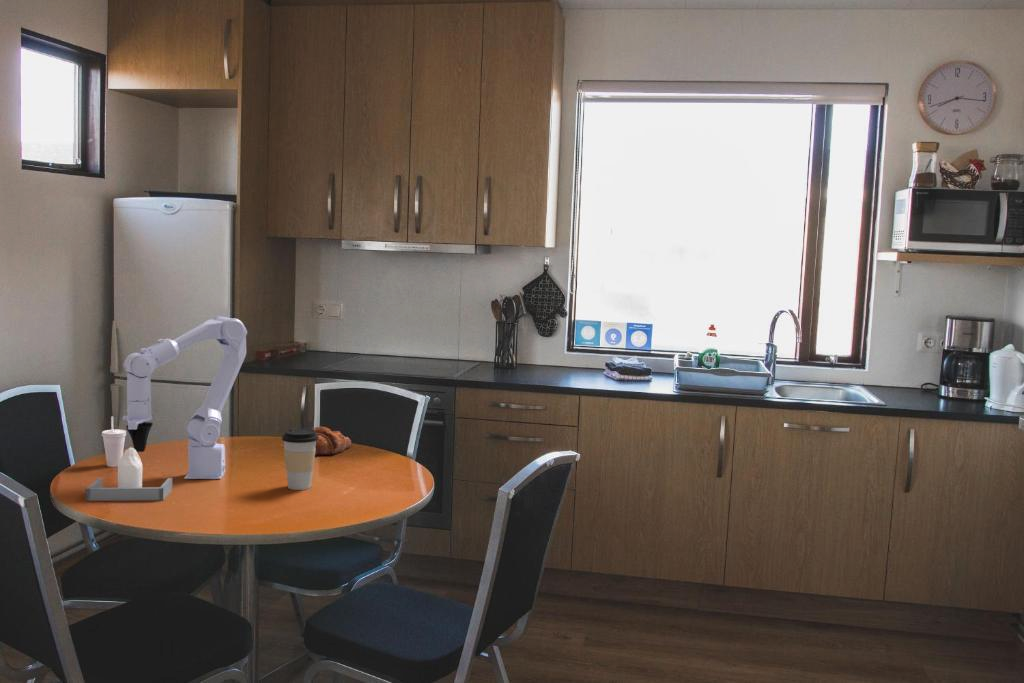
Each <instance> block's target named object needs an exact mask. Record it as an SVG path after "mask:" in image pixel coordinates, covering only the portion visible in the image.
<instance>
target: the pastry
mask: <svg viewBox="0 0 1024 683" xmlns="http://www.w3.org/2000/svg"><path fill="white" fill-rule="evenodd" d="M312 430H315V431H316V434H317V435H318V438H319V439H318V440H317V441H316V445H315V448H316V450H315V457H317V456H333V455H336V454H340V453H342V452H344V451H345V450H348V449H349V448H350V447H351V446H352V440H351V439H350V438H349V437H348V436H344V435H343V434H342V433H341V431H339V430H333V431H332V430H331V429H330V428H328V427H326V426H316V427H314V428H312Z"/></svg>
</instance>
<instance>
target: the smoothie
mask: <svg viewBox="0 0 1024 683" xmlns="http://www.w3.org/2000/svg"><path fill="white" fill-rule="evenodd" d="M110 427H111V429H107V430H103V431H102V432H101V437H102V439H103V444H104V445H103V447H104V452H105V460H106V465H107V467H110V468H118V461H119V460H120V459H121V457H122V456H123V454H124V450H125V449H124V448H125V442H126V440H125V439H126V436H127V430H125V429H118V428H117V429H116V428H115V429H114V416H110Z"/></svg>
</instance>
